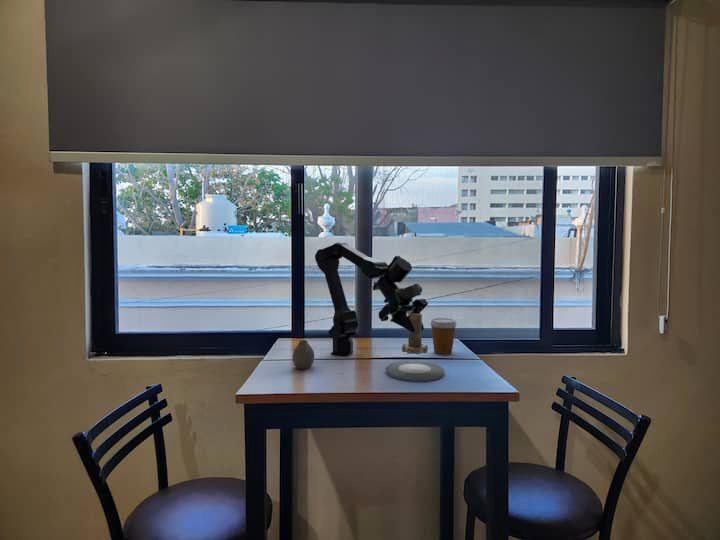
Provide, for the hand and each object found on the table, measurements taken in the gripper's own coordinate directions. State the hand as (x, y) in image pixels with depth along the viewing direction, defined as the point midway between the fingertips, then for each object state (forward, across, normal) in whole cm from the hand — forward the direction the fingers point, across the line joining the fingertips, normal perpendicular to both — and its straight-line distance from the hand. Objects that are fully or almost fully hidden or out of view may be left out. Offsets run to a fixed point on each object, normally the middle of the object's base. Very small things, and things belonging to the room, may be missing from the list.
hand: (418, 330), depth 141 cm
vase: (-11, -21, +31) cm, 39 cm away
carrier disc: (+8, 0, +10) cm, 13 cm away
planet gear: (+4, 0, +6) cm, 7 cm away
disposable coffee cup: (+3, +27, +16) cm, 32 cm away
